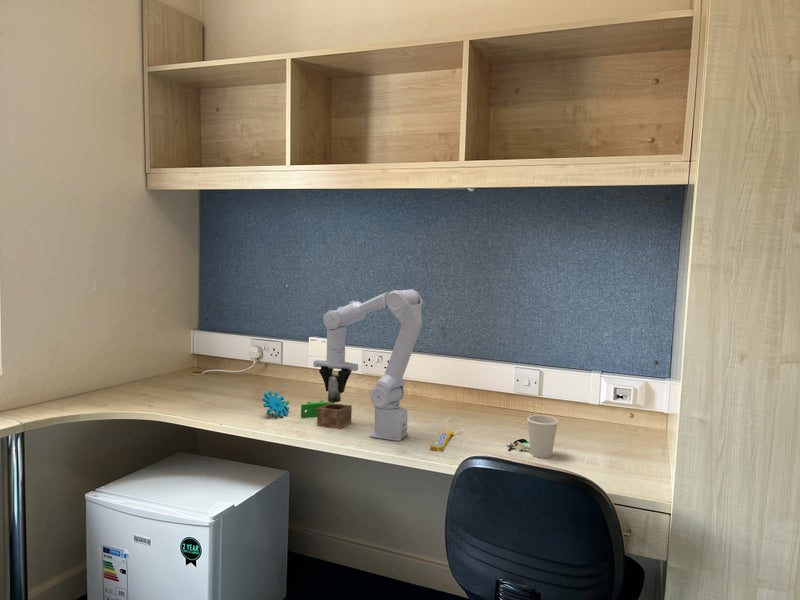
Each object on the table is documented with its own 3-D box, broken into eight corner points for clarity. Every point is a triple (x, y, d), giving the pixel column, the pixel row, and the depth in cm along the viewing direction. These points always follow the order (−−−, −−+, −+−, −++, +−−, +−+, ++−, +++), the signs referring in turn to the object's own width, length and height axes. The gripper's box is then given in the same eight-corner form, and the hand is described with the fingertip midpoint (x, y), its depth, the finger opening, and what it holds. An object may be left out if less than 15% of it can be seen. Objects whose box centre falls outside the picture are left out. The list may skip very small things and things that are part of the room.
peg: (342, 399, 190) (342, 374, 189) (338, 402, 186) (338, 377, 186) (330, 398, 191) (330, 373, 190) (326, 401, 187) (326, 376, 187)
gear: (271, 416, 191) (259, 390, 195) (261, 426, 193) (250, 401, 198) (297, 414, 199) (285, 389, 204) (287, 424, 202) (275, 399, 206)
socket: (351, 422, 192) (351, 405, 192) (340, 429, 185) (340, 411, 184) (328, 419, 195) (328, 402, 194) (317, 425, 187) (317, 408, 187)
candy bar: (443, 454, 166) (443, 447, 166) (428, 452, 167) (428, 445, 167) (454, 436, 182) (454, 430, 182) (440, 434, 184) (441, 428, 183)
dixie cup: (526, 458, 163) (528, 422, 162) (524, 448, 171) (526, 414, 171) (558, 461, 162) (560, 424, 161) (555, 450, 170) (556, 416, 169)
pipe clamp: (330, 413, 203) (331, 399, 203) (334, 415, 200) (334, 402, 200) (298, 415, 199) (298, 402, 198) (301, 418, 195) (302, 404, 195)
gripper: (362, 348, 189) (361, 391, 190) (320, 344, 194) (320, 386, 195) (353, 352, 183) (352, 396, 184) (310, 348, 187) (309, 391, 188)
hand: (335, 391), depth 189 cm, fingers closed on peg, 4 cm apart
